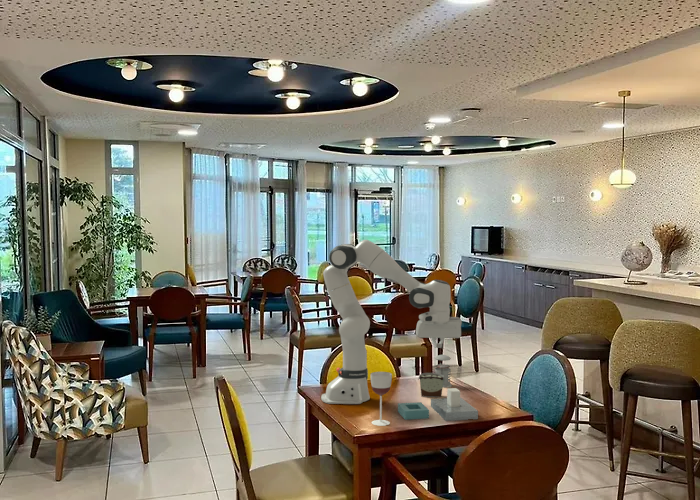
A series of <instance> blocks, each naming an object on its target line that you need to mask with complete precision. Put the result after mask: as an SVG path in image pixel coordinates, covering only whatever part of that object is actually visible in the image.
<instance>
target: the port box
mask: <svg viewBox="0 0 700 500" xmlns="http://www.w3.org/2000/svg"><path fill="white" fill-rule="evenodd" d="M430 407H431V409H432V410H433V411H435V413H437V414H438V415H439V416H440V417H441V418H442V419H443V420H444V421H446V422H451V421H452V422H453V421H469V420H468V419H473V420H478V419H479V411H478V409H476V408H475V407H474V406H472V405H471V404H470V403H468V402H467V401H466V400H465V399H464V398H462V397H460V407H449V406H448V405H447V397H446V398H442V397H440V398H430Z"/></svg>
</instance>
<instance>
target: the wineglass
mask: <svg viewBox="0 0 700 500" xmlns="http://www.w3.org/2000/svg"><path fill="white" fill-rule="evenodd" d="M392 377H393V373H391V372H387V371H375V372H371V373H370V383H371V388H372V391H373V392H374V393H375V394H377V395H379V419H375V420H372V421H371V424H372V425H374V426H378V427H381V426H383V427H385V426H388V425H390V424H391V422H390V421H389V420H385V419H383V415H382V414H383V405H382V404H383V396H384V395H386V394H388V393H389V391H390V389H391V387H392V386H391V385H392V379H393V378H392Z"/></svg>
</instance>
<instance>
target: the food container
mask: <svg viewBox="0 0 700 500" xmlns="http://www.w3.org/2000/svg"><path fill="white" fill-rule="evenodd" d="M443 380H444V381H445V379H444V376H443V375H441V374H437V373H436V372H425V373H421V374H419V376H418V381H419V385H420V395H421V397H422V398H423V397H424V398H442V395H443V389H444V388H443Z"/></svg>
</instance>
